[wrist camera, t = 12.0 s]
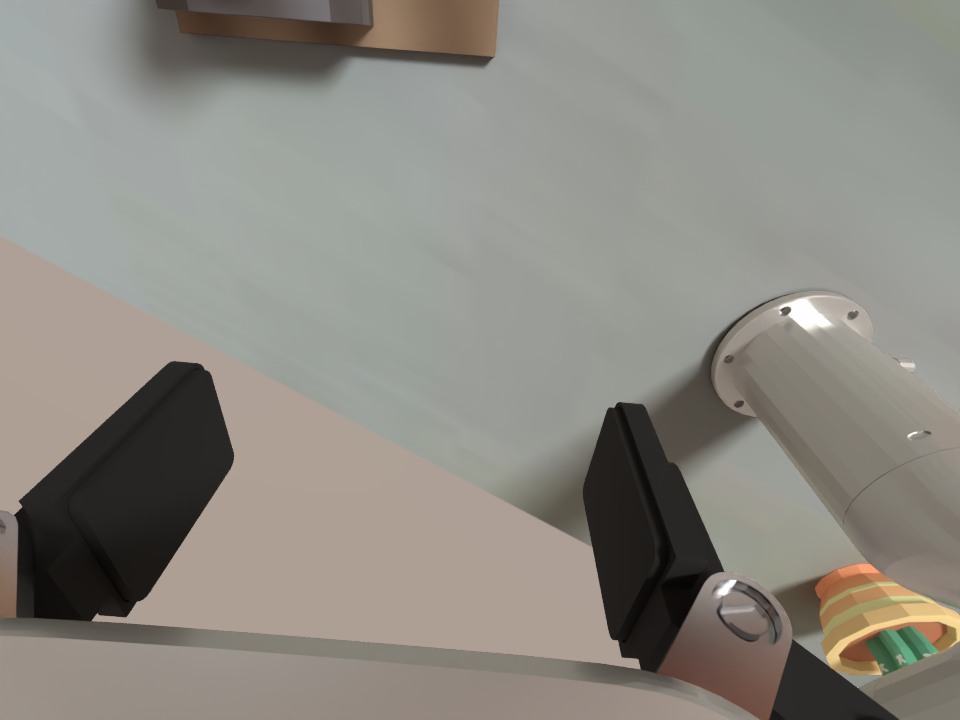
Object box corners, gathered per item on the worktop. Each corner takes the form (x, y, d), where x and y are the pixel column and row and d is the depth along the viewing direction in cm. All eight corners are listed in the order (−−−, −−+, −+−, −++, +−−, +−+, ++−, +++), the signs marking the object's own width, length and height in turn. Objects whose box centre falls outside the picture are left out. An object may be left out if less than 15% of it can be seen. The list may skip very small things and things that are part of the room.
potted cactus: (785, 619, 66) (923, 878, 46) (793, 560, 58) (968, 845, 37) (903, 602, 64) (1106, 869, 43) (930, 538, 55) (1198, 831, 35)
